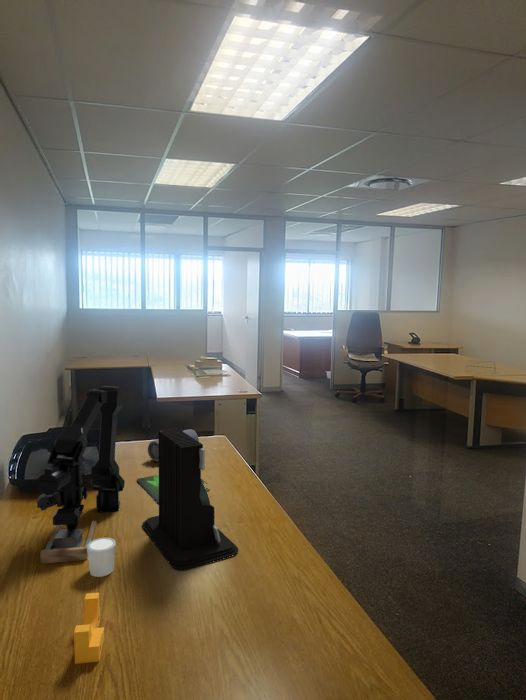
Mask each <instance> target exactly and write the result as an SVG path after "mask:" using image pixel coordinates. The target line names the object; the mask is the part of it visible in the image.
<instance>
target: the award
mask: <svg viewBox="0 0 526 700" xmlns="http://www.w3.org/2000/svg"><path fill="white" fill-rule="evenodd" d="M183 431H184V430H181V428H179V427H177V428H171V429H162V430H158V439H159V461H158V475H159V504H158V515H156V516H151V517H148V518H147V519H146V520H144V521H142V524H141V526H142V528H143V530H144V531H145V532H146V533H147V535H148V536H149V538H150V539H151V540H152V542H153V543H154V545H155V546H156V547H157V548H158V550H159V551H160V553H161V554H162V555H163V557H164V558H165V560H166V562H168V564H169V565H170V567H171V568H172V569H174V570H175V571H188V570H190V569H194V568H198V567H202V566H205V565H208V564H207V563H209V564H211V563H210V562H212V563H214V562H213V561H215V562H218V561H217V560H219V561H221V560H220V559H222V560H224V559H223V558H226V559H228V558H227V557H229V556H232V555H235V554H236V553H237V552H238V553H239V548H238V546H237V545H236V544H235V543H234V542H233V541H232V540H231V539H229V537H227V536H226V535H225V534H224V532H222V531H221V530H220V528H218V526H216V525H215V506H213V505H212V504H211V501H210V497H208V494H207V492H206V489H205V487H204V485H203V483H202V481H201V479H202V474H201V473H202V471H205V466H206V465H205V464H206V463H205V458H206V453H205V452H206V450H205V449H204V444H203V443H201V442H200V440H199V441H198V442H197V440H195V439H194V438H192V437H190V436H189V435H187V434H185V432H183ZM238 553H237V554H238ZM237 554H236V555H237ZM236 555H235V556H236ZM229 558H230V557H229ZM204 564H205V565H204ZM201 565H202V566H201ZM197 566H198V567H197Z"/></svg>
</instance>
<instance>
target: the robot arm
mask: <svg viewBox="0 0 526 700" xmlns="http://www.w3.org/2000/svg"><path fill="white" fill-rule="evenodd" d="M125 398H126V393H125V390H124V389H123V388H122V387H121V386H114V385H113V386H111V385H101V386H100V387H99V388H96V389H95V388H94V389H90V390H88V391H87V394H86V398H85V400H84V401H83V404H82V405H81V407H80V409H79V410H78V413H77V414H76V416H75V418H74V419H73V422H72V423H71V424H70V426H69V427H68V428H66V429H64V430H62V431H61V433H60V434H59V435H58V436H57V438H56V439H55V440H54V441H55V442H54V444H53V446H52V448H51V451H50V454H49V457H48V460H47V462H46V464H47V465H51V466H48V467H46V468H45V469H44V473H43V474H42V475H40V476H39V478H38V481H37V487H38V489H39V491H40V492H41V494H40V495H38V498H37V499H36V503H37V505H36V507H37V508H39V509H40V511H41V512H43V511H45V510H47V509H48V508H51V507H54V506H56V507H57V508H58V509H57V510H56V511H55V512H54V514H53V516H52V525H53V526H56V525H61V526H65V525H66V529H77V527H78V524H79V523H80V519H81V515H83V510H84V508H85V504H82V501H83V500H87V497H88V496H89V495H88V489H87V488H86V487H85V486H84V487H83V484H84V480H82V477H83V475H82V462H83V461H85V460H86V457H84V456H83V455H84V454H85V452H86V449H87V445H88V437H87V436H88V432H89V431H90V429H91V427H92V425H93V423H94V421H95V420H96V418H97V415H98V414H99V412H100V415H101V416H100V431H99V432H100V433H99V446H98V447H99V448H98V459H97V462H95V464H94V465H92V467H91V469H90V471H91V472H90V473H91V474H90V484H91V487H92V491H94V492H97V493H96V496H95V498H96V506H95V508H96V509H97V513H103V512H104V513H106V512H107V513H109V512H118V511H119V510H120V505H121V501H120V493H121V492H123V491H124V488H125V482H126V481H125V479H124V478H123V477H122V476H121V474H120V466H119V465H118V463H117V460H116V459H115V458H116V443H117V442H116V441H117V439H116V438H117V426H118V425H117V424H118V414H119V412H120V411H121V410H122V408H123V407H124V402H125V401H124V400H125Z"/></svg>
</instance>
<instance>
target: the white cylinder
mask: <svg viewBox="0 0 526 700" xmlns="http://www.w3.org/2000/svg"><path fill="white" fill-rule="evenodd" d="M87 552H88V557H87V560H88V568H89V573H90V576H92V577H94V578H95V577H98V578H101V577H102V578H103V577H105V576H108V575H110V574H112V573H113V571H114V567H115V555H116V540H115V539H113V538H112V537H100V538H94V539H93V540H92V541H91V542H89V543H88V544H87Z"/></svg>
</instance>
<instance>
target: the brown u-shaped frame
mask: <svg viewBox="0 0 526 700" xmlns="http://www.w3.org/2000/svg"><path fill="white" fill-rule="evenodd" d="M97 524H98V523H97V520H92V522H91V525H90V527H89V531H88V535H87V538H86V541H85V544H84V546H80V547H73V548H61V549H54V537H55V536H56V534H57V533H58V532H59V530H60V529H61V528H62V525H55V526H54V528H53V531H52V533H51V534H50V535H51V536H50V538H49V540H48V542H47V545H46V547H45V549H41V550H40V553H39V554H40V556H39V557H40V564H41V565H42V564H43V565H44V564H53V563H61V562H62V563H64V562H77V561H85V560H88V552H87V544H88V543H89V542H91V541H93V540H94V537H95V533H96V529H97ZM52 547H53V548H52Z"/></svg>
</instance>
